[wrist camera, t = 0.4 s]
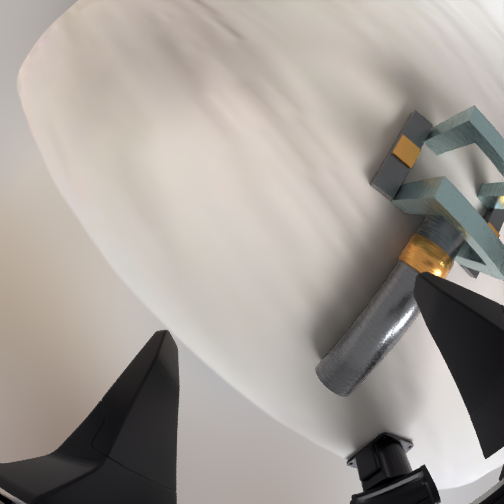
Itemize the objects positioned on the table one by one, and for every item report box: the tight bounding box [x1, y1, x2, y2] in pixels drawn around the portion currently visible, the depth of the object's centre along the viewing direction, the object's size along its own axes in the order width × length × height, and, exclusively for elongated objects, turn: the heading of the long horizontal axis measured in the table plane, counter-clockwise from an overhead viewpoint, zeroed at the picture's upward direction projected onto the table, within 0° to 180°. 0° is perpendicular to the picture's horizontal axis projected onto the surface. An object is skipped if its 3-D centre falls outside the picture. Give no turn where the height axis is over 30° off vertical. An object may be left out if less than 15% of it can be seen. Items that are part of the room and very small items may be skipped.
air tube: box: [316, 215, 465, 397], centre depth 19 cm, size 18×4×4 cm, turn 147°
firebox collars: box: [370, 106, 504, 281], centre depth 16 cm, size 14×8×7 cm, turn 57°
